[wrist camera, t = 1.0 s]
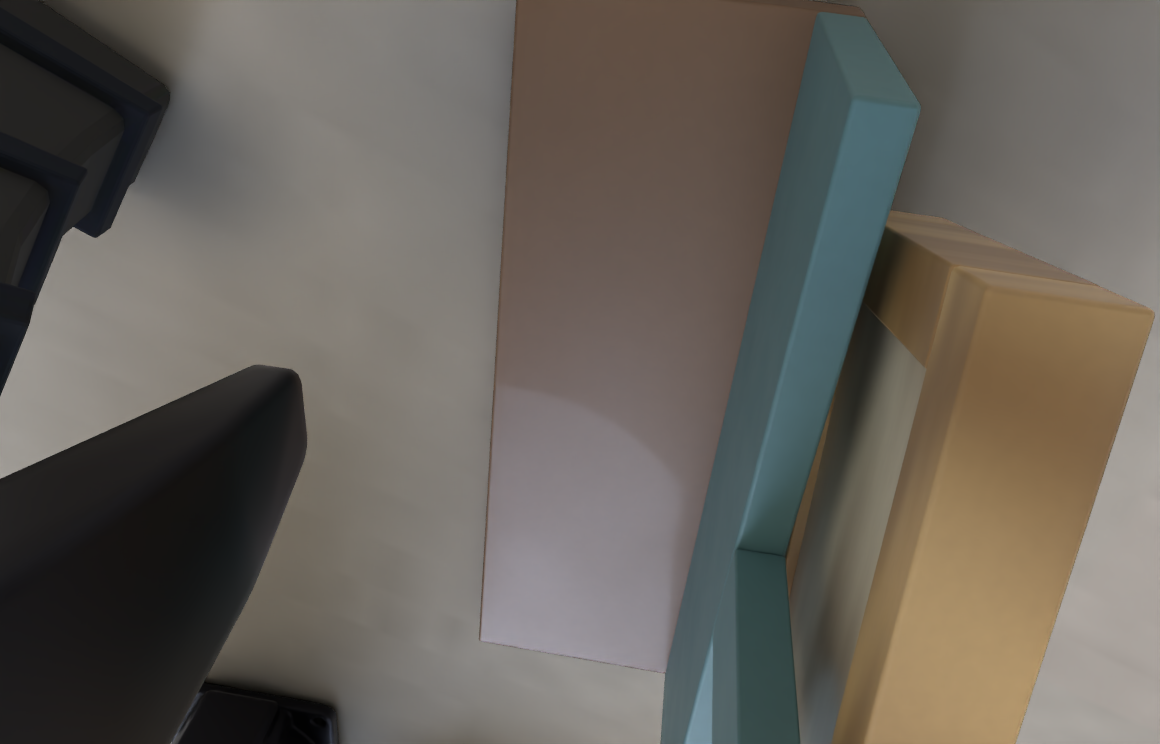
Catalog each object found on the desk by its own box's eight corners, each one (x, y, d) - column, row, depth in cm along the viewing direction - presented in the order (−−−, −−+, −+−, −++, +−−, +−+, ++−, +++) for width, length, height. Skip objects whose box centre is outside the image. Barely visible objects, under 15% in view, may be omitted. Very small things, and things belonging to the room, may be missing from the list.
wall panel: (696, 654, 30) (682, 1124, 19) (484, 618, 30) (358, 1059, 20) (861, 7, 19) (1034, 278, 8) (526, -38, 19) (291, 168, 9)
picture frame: (787, 888, 25) (848, 1311, 16) (704, 872, 25) (720, 1284, 16) (956, 219, 19) (1182, 313, 11) (849, 204, 19) (987, 284, 11)
